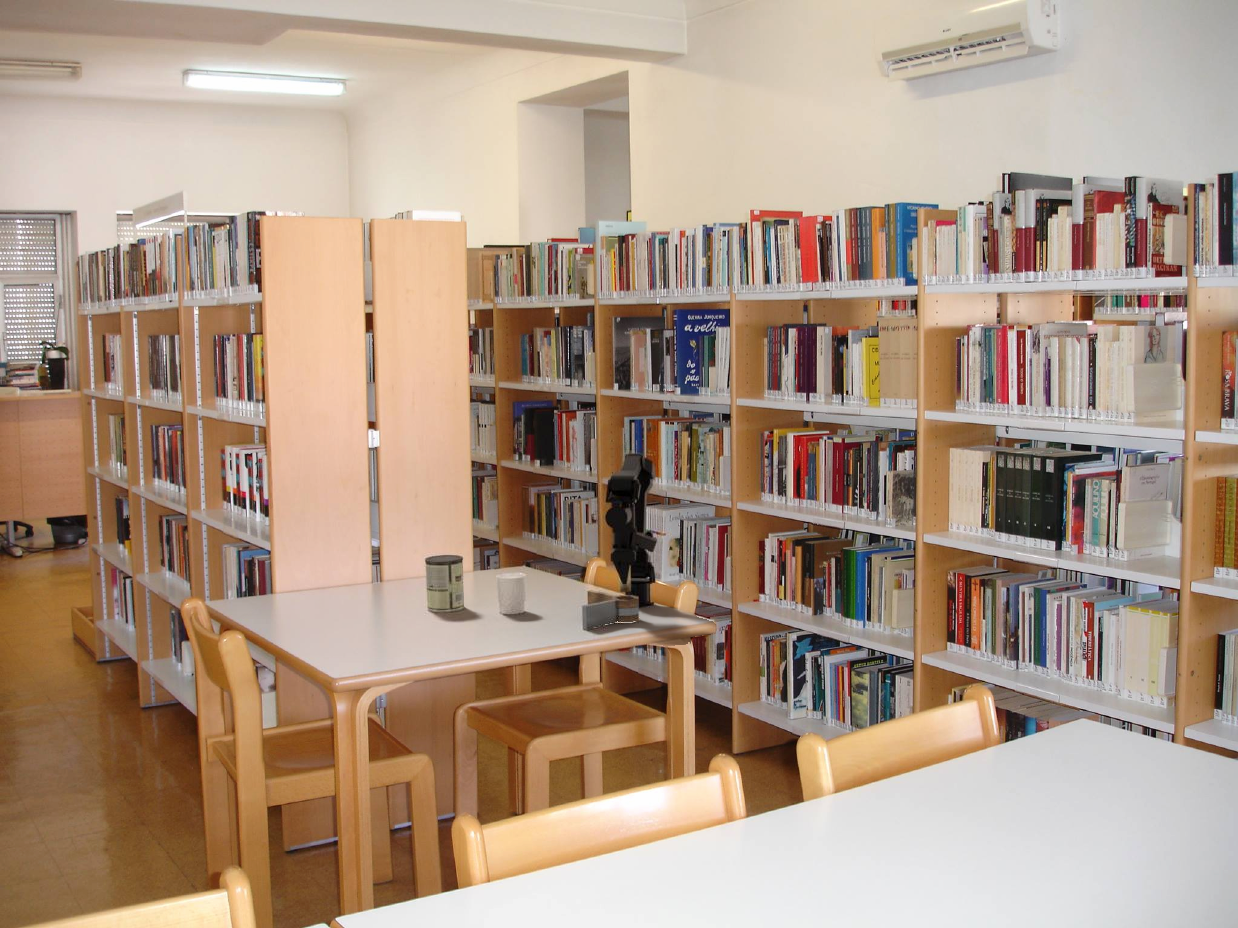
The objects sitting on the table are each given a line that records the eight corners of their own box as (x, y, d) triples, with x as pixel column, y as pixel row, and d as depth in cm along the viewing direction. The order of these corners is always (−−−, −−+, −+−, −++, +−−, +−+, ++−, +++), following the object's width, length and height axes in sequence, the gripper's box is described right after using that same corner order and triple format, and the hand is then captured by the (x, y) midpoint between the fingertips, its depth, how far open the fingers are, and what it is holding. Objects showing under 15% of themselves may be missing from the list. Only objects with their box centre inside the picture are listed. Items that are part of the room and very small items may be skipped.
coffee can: (431, 604, 331) (430, 554, 330) (468, 604, 330) (466, 554, 328) (422, 612, 321) (420, 561, 319) (459, 612, 320) (458, 561, 318)
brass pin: (625, 589, 308) (624, 558, 307) (633, 590, 306) (632, 560, 305) (616, 590, 306) (616, 560, 305) (624, 592, 304) (624, 561, 303)
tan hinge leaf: (644, 620, 307) (643, 597, 306) (624, 624, 302) (624, 601, 301) (599, 610, 319) (599, 588, 319) (580, 614, 315) (579, 592, 314)
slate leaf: (626, 616, 312) (625, 593, 311) (644, 620, 307) (643, 597, 306) (575, 627, 300) (575, 604, 299) (593, 631, 295) (593, 608, 294)
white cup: (500, 616, 315) (499, 579, 314) (495, 610, 322) (494, 573, 321) (529, 613, 317) (528, 577, 316) (523, 607, 324) (522, 572, 323)
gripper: (654, 528, 295) (655, 590, 296) (655, 517, 313) (656, 575, 315) (610, 528, 295) (611, 590, 297) (613, 518, 314) (614, 576, 315)
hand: (624, 583), depth 306 cm, fingers closed on brass pin, 3 cm apart
